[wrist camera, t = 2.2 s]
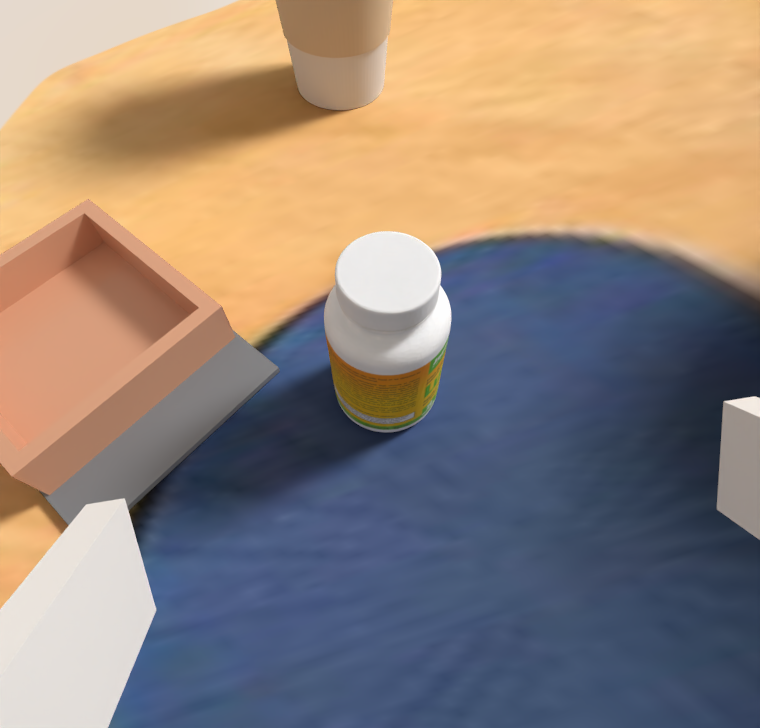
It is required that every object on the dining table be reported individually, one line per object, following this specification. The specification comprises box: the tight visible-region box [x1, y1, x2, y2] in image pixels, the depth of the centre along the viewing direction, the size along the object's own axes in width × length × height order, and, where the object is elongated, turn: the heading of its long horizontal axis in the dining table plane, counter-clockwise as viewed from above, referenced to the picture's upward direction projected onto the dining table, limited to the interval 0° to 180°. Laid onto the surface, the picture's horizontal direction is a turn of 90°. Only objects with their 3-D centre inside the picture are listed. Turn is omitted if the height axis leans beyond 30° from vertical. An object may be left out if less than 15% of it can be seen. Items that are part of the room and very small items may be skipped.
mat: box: [39, 331, 280, 525], centre depth 29 cm, size 16×12×1 cm
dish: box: [0, 199, 235, 495], centre depth 27 cm, size 12×12×3 cm
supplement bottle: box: [324, 231, 451, 432], centre depth 24 cm, size 5×5×10 cm
